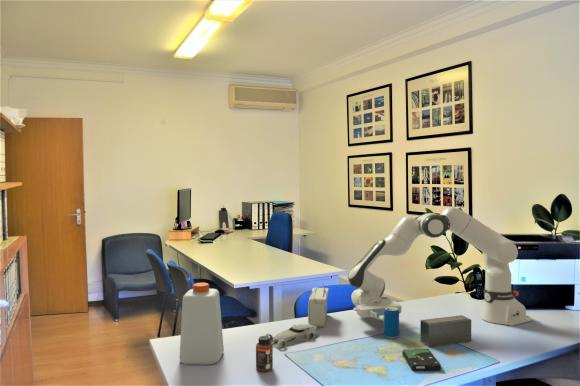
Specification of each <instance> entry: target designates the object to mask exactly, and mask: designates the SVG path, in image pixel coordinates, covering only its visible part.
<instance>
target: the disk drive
mask: <svg viewBox="0 0 580 386" xmlns="http://www.w3.org/2000/svg"><path fill="white" fill-rule="evenodd" d="M401 353H402V357H403V358H404V360H405V362H406V363H407V365H408V366H409V369H410V370H411V371H412V372H441V371H442V364H441V363H440V362H439V361H438V359H437V357H436V356H435V355H434V353H432V351H431V350H430V349H429V348H414V349H413V348H412V349H411V348H409V349H405V348H404V349H403V350H401Z"/></svg>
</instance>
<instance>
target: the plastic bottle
mask: <svg viewBox="0 0 580 386" xmlns="http://www.w3.org/2000/svg"><path fill="white" fill-rule="evenodd" d="M181 305H182V306H181V322H180V323H181V324H180V341H179V343H180V345H179V361H180V362H181V363H182V364H184V365H191V366H192V365H194V366H195V365H197V366H198V365H204V366H205V365H209V366H210V365H214V364H216V363H219V361H220V360H221V357H222V355H223V353H224V349H225V348H224V336H223V335H224V334H223V323H222V314H221V313H222V311H221V302H220V291H219V290H218V289H216V288H210V283H207V282H196V283H193V285H192V288H191V289H189V290H188V291H187V292H185V294H184V295H183V296H182V304H181Z"/></svg>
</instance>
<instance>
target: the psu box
mask: <svg viewBox="0 0 580 386" xmlns="http://www.w3.org/2000/svg"><path fill="white" fill-rule="evenodd" d="M419 327H420V330H419V332H420V334H419V335H420V337H419V338H420V340H419V341H420V342H421V344H423V345H425V346H426V347H428V348H432V347H440V346H445V345H446V346H447V345H454V344H460V343H461V344H462V343H469V342H471V341H472V319H471V318H468V317H466V316H465V315H462V314H461V315H453V316H445V317H436V318H428V319H426V318H425V319H420V324H419Z"/></svg>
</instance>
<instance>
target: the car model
mask: <svg viewBox="0 0 580 386" xmlns="http://www.w3.org/2000/svg"><path fill="white" fill-rule="evenodd" d="M317 328H318V327H316V326H314V325H309V324H306V323H303V324H294V325H292V326H291V327H290V328H288V329H286V330H282V332H280V333H278V334H276V335H275V336H273V335H272V334H271V333H266V334H265V335H264V336H268V337H270V342H271V343H272V345H273V348H274V349H280V350H282V349H285V348H287V347H289V346H291V345H294V344H297V343H300V342H306V341H312V340H314V339H315V338H316V337H317V336H318V334H317V333H316V332H314V331H315V330H316V329H317Z"/></svg>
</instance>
